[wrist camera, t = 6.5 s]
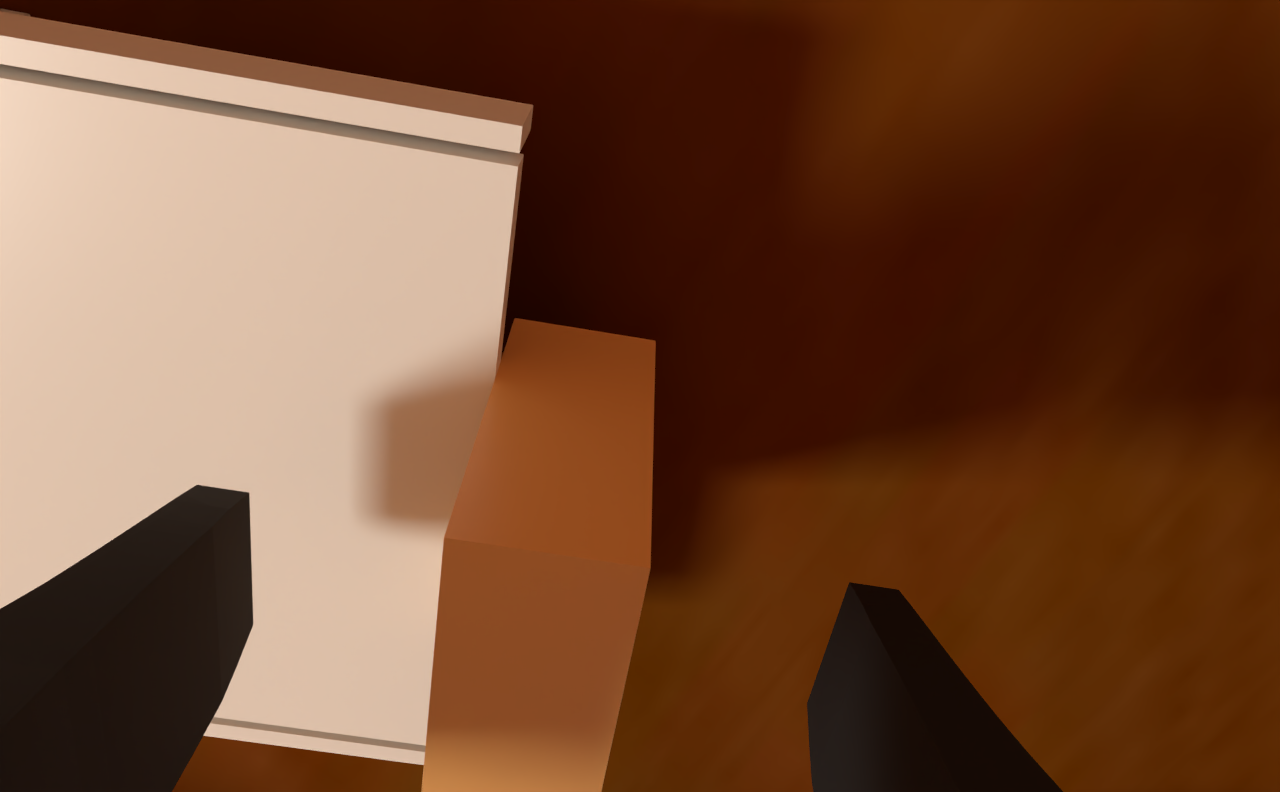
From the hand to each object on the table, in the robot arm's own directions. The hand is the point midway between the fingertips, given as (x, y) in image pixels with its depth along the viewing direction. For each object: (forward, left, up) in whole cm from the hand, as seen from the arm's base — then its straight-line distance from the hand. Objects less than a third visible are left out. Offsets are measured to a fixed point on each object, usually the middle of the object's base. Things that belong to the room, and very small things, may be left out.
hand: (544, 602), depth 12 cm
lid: (+6, 0, -3) cm, 7 cm away
